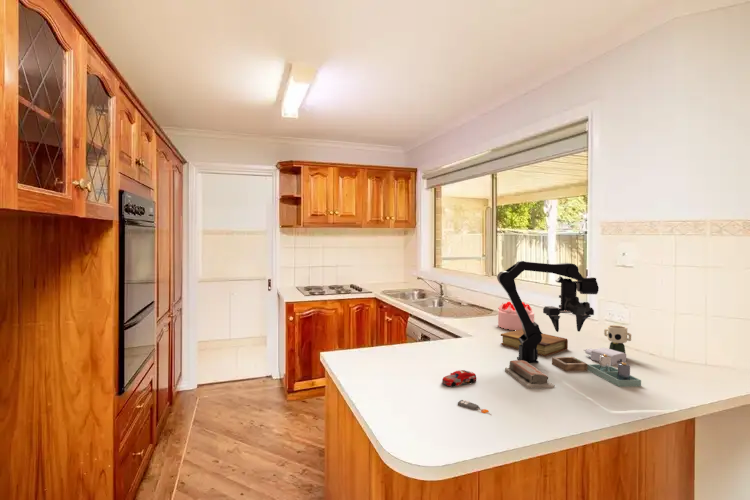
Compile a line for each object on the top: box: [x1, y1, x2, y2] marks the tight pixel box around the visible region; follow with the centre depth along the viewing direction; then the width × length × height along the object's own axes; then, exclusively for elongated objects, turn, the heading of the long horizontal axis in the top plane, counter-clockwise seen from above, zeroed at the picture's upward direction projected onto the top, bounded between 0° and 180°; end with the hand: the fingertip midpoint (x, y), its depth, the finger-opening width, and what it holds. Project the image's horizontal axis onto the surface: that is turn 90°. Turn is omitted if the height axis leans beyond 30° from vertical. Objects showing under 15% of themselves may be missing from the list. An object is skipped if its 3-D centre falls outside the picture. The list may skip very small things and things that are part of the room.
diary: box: [500, 329, 569, 357], centre depth 177 cm, size 23×19×6 cm
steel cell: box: [598, 354, 612, 372], centre depth 140 cm, size 4×4×7 cm
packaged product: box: [504, 359, 555, 389], centre depth 136 cm, size 18×5×10 cm
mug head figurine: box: [603, 324, 632, 353], centre depth 163 cm, size 11×7×13 cm, turn 31°
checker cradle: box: [551, 356, 588, 372], centre depth 147 cm, size 9×9×3 cm
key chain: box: [457, 399, 493, 417], centre depth 110 cm, size 13×4×2 cm, turn 49°
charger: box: [583, 347, 627, 366], centre depth 158 cm, size 5×9×15 cm
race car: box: [441, 369, 477, 388], centre depth 131 cm, size 13×5×4 cm, turn 114°
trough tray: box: [586, 363, 642, 388], centre depth 136 cm, size 8×17×2 cm, turn 5°
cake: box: [497, 301, 535, 331], centre depth 218 cm, size 20×20×14 cm
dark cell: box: [617, 362, 631, 380], centre depth 131 cm, size 4×4×7 cm
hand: (567, 331), depth 153 cm, fingers open, 9 cm apart
